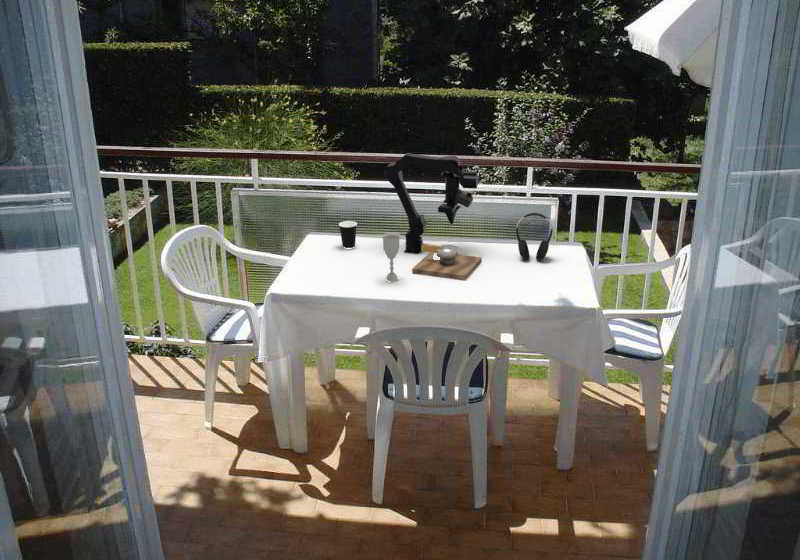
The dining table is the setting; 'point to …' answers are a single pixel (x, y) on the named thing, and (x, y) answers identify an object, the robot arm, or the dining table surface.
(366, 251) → the dining table surface
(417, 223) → the robot arm
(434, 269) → the wooden cutting board
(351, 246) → the dixie cup
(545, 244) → the headphones
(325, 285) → the dining table surface
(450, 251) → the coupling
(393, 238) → the chalice
